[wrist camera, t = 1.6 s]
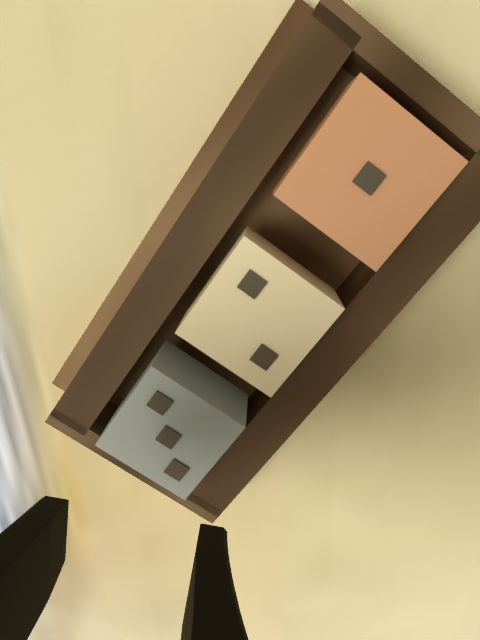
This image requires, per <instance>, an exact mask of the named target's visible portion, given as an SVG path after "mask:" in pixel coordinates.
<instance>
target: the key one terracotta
mask: <svg viewBox="0 0 480 640" xmlns="http://www.w3.org/2000/svg"><path fill="white" fill-rule="evenodd" d="M468 162H469V161H467V160H466V159H465V158H464V157H463V156H461V155H460V154H459V153H458V152H456V151H455V150H454V149H453V148H452V147H450V146H449V145H448V144H447V143H446V142H444V141H443V140H442V139H441V138H440V137H438V136H437V135H436V134H435V133H433V132H432V131H431V130H430V129H429V128H427V127H426V126H425V125H424V124H423V123H421V122H420V121H419V120H418V119H417V118H415V117H414V116H413V115H412V114H410V113H409V112H408V111H407V110H406V109H404V108H403V107H402V106H401V105H400V104H398V103H397V102H396V101H395V100H394V99H392V98H391V97H390V96H389V95H387V94H386V93H385V92H384V91H383V90H381V89H380V88H379V87H378V86H377V85H375V84H374V83H373V82H372V81H371V80H369V79H368V78H367V77H366V76H365V75H363V74H362V73H361V72H360V73H359V74H358V75H357V76H356V77H355V78H354V79H353V80H352V81H351V82H350V83H349V84H348V85H347V86H346V87H345V89H344V90H343V92H342V93H341V94H340V96H339V97H338V99H337V100H336V101H335V103H334V104H333V106H332V107H331V108H330V110H329V111H328V113H327V114H326V115H325V117H324V118H323V120H322V121H321V123H320V124H319V125H318V127H317V128H316V130H315V131H314V132H313V134H312V135H311V137H310V138H309V139H308V141H307V142H306V144H305V145H304V146H303V148H302V149H301V151H300V152H299V154H298V155H297V156H296V158H295V159H294V161H293V162H292V163H291V165H290V166H289V168H288V169H287V170H286V172H285V173H284V175H283V176H282V177H281V179H280V180H279V182H278V183H277V185H276V186H275V187H274V189H273V190H272V192H273V195H274V196H275V197H277V198H278V199H279V200H281V201H282V202H283V203H285V204H286V205H287V206H289V207H290V208H291V209H293V210H294V211H295V212H297V213H298V214H299V215H301V216H302V217H303V218H305V219H306V220H307V221H309V222H310V223H311V224H313V225H314V226H315V227H317V228H318V229H319V230H321V231H322V232H323V233H325V234H326V235H327V236H329V237H330V238H331V239H333V240H334V241H335V242H337V243H338V244H339V245H341V246H342V247H343V248H345V249H346V250H347V251H349V252H350V253H351V254H353V255H354V256H355V257H357V258H358V259H359V260H361V261H362V262H363V263H365V264H366V265H367V266H369V267H370V268H371V269H373V270H374V271H375V272H377V270H378V269H379V268H380V267H381V266H382V264H383V263H384V262H385V261H386V260H387V259H388V257H389V256H390V255H391V254H392V253H393V251H394V250H395V249H396V248H397V247H398V245H399V244H400V243H401V242H402V241H403V239H404V238H405V237H406V236H407V235H408V233H409V232H410V231H411V230H412V229H413V228H414V226H415V225H416V224H417V223H418V222H419V220H420V219H421V218H422V217H423V216H424V214H425V213H426V212H427V211H428V210H429V208H430V207H431V206H432V205H433V204H434V203H435V201H436V200H437V199H438V198H439V197H440V195H441V194H442V193H443V192H444V191H445V189H446V188H447V187H448V186H449V185H450V183H451V182H452V181H453V180H454V179H455V177H456V176H457V175H458V174H459V173H460V172H461V170H462V169H463V168H464V167H465V166H466V164H467V163H468Z"/></svg>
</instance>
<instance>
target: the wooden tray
mask: <svg viewBox="0 0 480 640" xmlns="http://www.w3.org/2000/svg"><path fill="white" fill-rule="evenodd" d="M360 72H361V73H362V74H363V75H365V76H366V77H367V78H368V79H369V80H371V81H372V82H373V83H374V84H375V85H377V86H378V87H379V88H380V89H381V90H383V91H384V92H385V93H386V94H387V95H389V96H390V97H391V98H392V99H394V100H395V101H396V102H397V103H398V104H400V105H401V106H402V107H403V108H404V109H406V110H407V111H408V112H409V113H410V114H412V115H413V116H414V117H415V118H417V119H418V120H419V121H420V122H421V123H423V124H424V125H425V126H426V127H427V128H429V129H430V130H431V131H432V132H433V133H435V134H436V135H437V136H438V137H440V138H441V139H442V140H443V141H444V142H446V143H447V144H448V145H449V146H450V147H452V148H453V149H454V150H455V151H456V152H458V153H459V154H460V155H461V156H463V157H464V158H465V159H466V160H467V161H469V162H468V163H467V164H466V166H465V167H464V168H463V169H462V170H461V172H460V173H459V174H458V175H457V176H456V177H455V179H454V180H453V181H452V182H451V183H450V185H449V186H448V187H447V188H446V189H445V191H444V192H443V193H442V194H441V195H440V197H439V198H438V199H437V200H436V201H435V203H434V204H433V205H432V206H431V207H430V208H429V210H428V211H427V212H426V213H425V214H424V216H423V217H422V218H421V219H420V220H419V222H418V223H417V224H416V225H415V226H414V228H413V229H412V230H411V231H410V232H409V233H408V235H407V236H406V237H405V238H404V239H403V241H402V242H401V243H400V244H399V245H398V247H397V248H396V249H395V250H394V251H393V253H392V254H391V255H390V256H389V257H388V259H387V260H386V261H385V262H384V263H383V264H382V266H381V267H380V268H379V269H378V270H377V272H375V271H374V270H373V269H371V268H370V267H369V266H367V265H366V264H365V263H363V262H362V261H361V260H359V259H358V258H357V257H355V256H354V255H353V254H351V253H350V252H349V251H347V250H346V249H345V248H343V247H342V246H341V245H339V244H338V243H337V242H335V241H334V240H333V239H331V238H330V237H329V236H327V235H326V234H325V233H323V232H322V231H321V230H319V229H318V228H317V227H315V226H314V225H313V224H311V223H310V222H309V221H307V220H306V219H305V218H303V217H302V216H301V215H299V214H298V213H297V212H295V211H294V210H293V209H291V208H290V207H289V206H287V205H286V204H285V203H283V202H282V201H281V200H279V199H278V198H277V197H275V196H274V195H273V192H272V190H273V189H274V187H275V186H276V185H277V183H278V182H279V180H280V179H281V177H282V176H283V175H284V173H285V172H286V170H287V169H288V168H289V166H290V165H291V163H292V162H293V161H294V159H295V158H296V156H297V155H298V154H299V152H300V151H301V149H302V148H303V146H304V145H305V144H306V142H307V141H308V139H309V138H310V137H311V135H312V134H313V132H314V131H315V130H316V128H317V127H318V125H319V124H320V123H321V121H322V120H323V118H324V117H325V115H326V114H327V113H328V111H329V110H330V108H331V107H332V106H333V104H334V103H335V101H336V100H337V99H338V97H339V96H340V94H341V93H342V92H343V90H344V89H345V87H346V86H347V85H348V84H349V83H350V82H351V81H352V80H353V79H354V78H355V77H356V76H357V75H358V74H359V73H360ZM479 222H480V117H479V116H478V115H477V114H476V113H475V112H473V111H472V110H471V109H470V108H469V107H468V106H466V105H465V104H464V103H463V102H462V101H460V100H459V99H458V98H457V97H456V96H455V95H453V94H452V93H451V92H450V91H449V90H448V89H446V88H445V87H444V86H443V85H442V84H440V83H439V82H438V81H437V80H436V79H435V78H433V77H432V76H431V75H430V74H429V73H427V72H426V71H425V70H424V69H423V68H422V67H420V66H419V65H418V64H417V63H416V62H415V61H413V60H412V59H411V58H410V57H409V56H407V55H406V54H405V53H404V52H403V51H402V50H400V49H399V48H398V47H397V46H396V45H395V44H393V43H392V42H391V41H390V40H389V39H387V38H386V37H385V36H384V35H383V34H382V33H380V32H379V31H378V30H377V29H376V28H375V27H373V26H372V25H371V24H370V23H369V22H367V21H366V20H365V19H364V18H363V17H362V16H360V15H359V14H358V13H357V12H356V11H354V10H353V9H352V8H351V7H350V6H349V5H347V4H346V3H345V2H344V1H343V0H320V1H319V3H318V4H317V6H316V8H315V9H314V10H313V9H312V8H311V7H310V6H309V5H308V4H306V3H305V2H304V1H303V0H295V2H294V3H293V5H292V7H291V8H290V10H289V11H288V13H287V14H286V16H285V18H284V19H283V21H282V22H281V24H280V25H279V27H278V29H277V30H276V32H275V33H274V35H273V36H272V38H271V40H270V41H269V43H268V44H267V46H266V47H265V49H264V51H263V52H262V54H261V55H260V57H259V58H258V60H257V62H256V63H255V65H254V66H253V68H252V69H251V71H250V73H249V74H248V76H247V77H246V79H245V80H244V82H243V84H242V85H241V87H240V88H239V90H238V91H237V93H236V95H235V96H234V98H233V99H232V101H231V102H230V104H229V106H228V107H227V109H226V110H225V112H224V113H223V115H222V117H221V118H220V120H219V121H218V123H217V124H216V126H215V128H214V129H213V131H212V132H211V134H210V135H209V137H208V139H207V140H206V142H205V143H204V145H203V146H202V148H201V150H200V151H199V153H198V154H197V156H196V157H195V159H194V161H193V162H192V164H191V165H190V167H189V168H188V170H187V172H186V173H185V175H184V176H183V178H182V179H181V181H180V183H179V184H178V186H177V187H176V189H175V190H174V192H173V194H172V195H171V197H170V198H169V200H168V201H167V203H166V205H165V206H164V208H163V209H162V211H161V212H160V214H159V216H158V217H157V219H156V220H155V222H154V223H153V225H152V227H151V228H150V230H149V231H148V233H147V234H146V236H145V238H144V239H143V241H142V242H141V244H140V246H139V247H138V249H137V250H136V252H135V253H134V255H133V257H132V258H131V260H130V261H129V263H128V264H127V266H126V268H125V269H124V271H123V272H122V274H121V275H120V277H119V279H118V280H117V282H116V283H115V285H114V286H113V288H112V290H111V291H110V293H109V294H108V296H107V297H106V299H105V301H104V302H103V304H102V305H101V307H100V308H99V310H98V312H97V313H96V315H95V316H94V318H93V319H92V321H91V323H90V324H89V326H88V327H87V329H86V330H85V332H84V334H83V335H82V337H81V338H80V340H79V341H78V343H77V345H76V346H75V348H74V349H73V351H72V352H71V354H70V356H69V357H68V359H67V360H66V362H65V363H64V365H63V367H62V368H61V370H60V371H59V373H58V374H57V376H56V378H55V379H54V381H53V382H52V384H54V385H56V386H57V387H59V388H61V389H62V390H64V391H65V392H64V394H63V395H62V397H61V398H60V400H59V402H58V403H57V405H56V406H55V408H54V409H53V411H52V412H51V414H50V415H49V417H48V418H47V420H46V421H45V422H46V423H47V424H49V425H51V426H52V427H54V428H56V429H57V430H59V431H61V432H62V433H64V434H66V435H67V436H69V437H71V438H72V439H74V440H76V441H77V442H79V443H80V444H82V445H84V446H85V447H87V448H89V449H90V450H92V451H94V452H95V453H97V454H99V455H100V456H102V457H104V458H105V459H107V460H109V461H110V462H112V463H113V464H115V465H117V466H118V467H120V468H122V469H123V470H125V471H127V472H128V473H130V474H132V475H133V476H135V477H137V478H138V479H140V480H141V481H143V482H145V483H146V484H148V485H150V486H151V487H153V488H155V489H156V490H158V491H160V492H161V493H163V494H165V495H166V496H168V497H170V498H171V499H173V500H174V501H176V502H178V503H179V504H181V505H183V506H184V507H186V508H188V509H189V510H191V511H193V512H194V513H196V514H198V515H199V516H201V517H203V518H204V519H206V520H207V521H209V522H211V523H213V522H214V521H215V520H216V519H217V517H218V516H219V515H220V514H221V513H222V512H223V511H224V510H225V508H226V507H227V506H228V505H229V504H230V503H231V502H232V501H233V499H234V498H235V497H236V496H237V495H238V494H239V493H240V492H241V490H242V489H243V488H244V487H245V486H246V485H247V484H248V482H249V481H250V480H251V479H252V478H253V477H254V476H255V475H256V473H257V472H258V471H259V470H260V469H261V468H262V467H263V466H264V464H265V463H266V462H267V461H268V460H269V459H270V458H271V457H272V455H273V454H274V453H275V452H276V451H277V450H278V449H279V447H280V446H281V445H282V444H283V443H284V442H285V441H286V440H287V438H288V437H289V436H290V435H291V434H292V433H293V432H294V431H295V429H296V428H297V427H298V426H299V425H300V424H301V423H302V422H303V420H304V419H305V418H306V417H307V416H308V415H309V414H310V413H311V411H312V410H313V409H314V408H315V407H316V406H317V405H318V403H319V402H320V401H321V400H322V399H323V398H324V397H325V396H326V394H327V393H328V392H329V391H330V390H331V389H332V388H333V387H334V385H335V384H336V383H337V382H338V381H339V380H340V379H341V378H342V376H343V375H344V374H345V373H346V372H347V371H348V370H349V369H350V367H351V366H352V365H353V364H354V363H355V362H356V361H357V359H358V358H359V357H360V356H361V355H362V354H363V353H364V352H365V350H366V349H367V348H368V347H369V346H370V345H371V344H372V343H373V341H374V340H375V339H376V338H377V337H378V336H379V335H380V334H381V332H382V331H383V330H384V329H385V328H386V327H387V326H388V324H389V323H390V322H391V321H392V320H393V319H394V318H395V317H396V315H397V314H398V313H399V312H400V311H401V310H402V309H403V308H404V306H405V305H406V304H407V303H408V302H409V301H410V300H411V299H412V297H413V296H414V295H415V294H416V293H417V292H418V291H419V290H420V288H421V287H422V286H423V285H424V284H425V283H426V282H427V280H428V279H429V278H430V277H431V276H432V275H433V274H434V273H435V271H436V270H437V269H438V268H439V267H440V266H441V265H442V264H443V262H444V261H445V260H446V259H447V258H448V257H449V256H450V255H451V253H452V252H453V251H454V250H455V249H456V248H457V247H458V245H459V244H460V243H461V242H462V241H463V240H464V239H465V238H466V236H467V235H468V234H469V233H470V232H471V231H472V230H473V229H474V227H475V226H476V225H477V224H478V223H479ZM247 226H248V227H250V228H251V229H252V230H254V231H255V232H257V233H258V234H259V235H261V236H262V237H263V238H265V239H266V240H267V241H269V242H270V243H272V244H273V245H274V246H276V247H277V248H278V249H280V250H281V251H283V252H284V253H285V254H287V255H288V256H289V257H291V258H292V259H294V260H295V261H296V262H298V263H299V264H300V265H302V266H303V267H304V268H306V269H307V270H309V271H310V272H311V273H313V274H314V275H315V276H317V277H318V278H320V279H321V280H322V281H324V282H325V283H326V284H328V285H329V286H330V287H332V288H333V289H334V290H335V292H336V293H337V295H338V297H339V299H340V301H341V302H342V304H343V306H344V308H345V310H344V311H343V312H342V313H341V315H340V316H339V317H338V318H337V319H336V320H335V322H334V323H333V324H332V325H331V326H330V328H329V329H328V330H327V331H326V332H325V334H324V335H323V336H322V337H321V338H320V340H319V341H318V342H317V343H316V344H315V346H314V347H313V348H312V349H311V350H310V351H309V353H308V354H307V355H306V356H305V357H304V359H303V360H302V361H301V362H300V363H299V365H298V366H297V367H296V368H295V369H294V371H293V372H292V373H291V374H290V375H289V377H288V378H287V379H286V380H285V381H284V382H283V384H282V385H281V386H280V387H279V388H278V390H277V391H276V392H275V393H274V394H273V396H272V397H269V396H268V395H266V394H265V393H263V392H262V391H260V390H259V389H257V388H256V387H254V386H253V385H251V384H250V383H248V382H247V381H245V380H244V379H242V378H241V377H239V376H238V375H236V374H235V373H233V372H232V371H230V370H229V369H227V368H226V367H224V366H223V365H221V364H220V363H218V362H217V361H215V360H214V359H212V358H211V357H209V356H208V355H206V354H205V353H203V352H202V351H200V350H199V349H197V348H196V347H194V346H193V345H191V344H190V343H188V342H187V341H185V340H184V339H183V338H181V337H180V336H178V335H177V334H175V332H176V330H177V328H178V326H179V324H180V323H181V321H182V319H183V317H184V315H185V313H186V312H187V310H188V309H189V307H190V306H191V304H192V303H193V302H194V300H195V299H196V297H197V296H198V294H199V293H200V292H201V290H202V289H203V287H204V286H205V285H206V283H207V282H208V280H209V279H210V278H211V276H212V275H213V273H214V272H215V271H216V269H217V268H218V266H219V265H220V263H221V262H222V261H223V259H224V258H225V256H226V255H227V254H228V252H229V251H230V249H231V248H232V247H233V245H234V244H235V242H236V241H237V239H238V238H239V237H240V235H241V234H242V232H243V231H244V230H245V228H246V227H247ZM166 340H167V341H169V342H170V343H172V344H173V345H175V346H176V347H178V348H179V349H181V350H182V351H184V352H185V353H187V354H188V355H190V356H191V357H193V358H194V359H196V360H197V361H199V362H200V363H202V364H203V365H205V366H206V367H208V368H209V369H211V370H212V371H214V372H215V373H217V374H218V375H220V376H221V377H223V378H224V379H226V380H227V381H229V382H230V383H232V384H233V385H235V386H236V387H238V388H239V389H241V390H242V391H244V392H245V393H247V394H248V404H247V417H246V428H245V429H244V430H243V431H242V433H241V434H240V435H239V436H238V437H237V438H236V440H235V441H234V442H233V443H232V444H231V446H230V447H229V448H228V449H227V450H226V452H225V453H224V454H223V455H222V456H221V458H220V459H219V460H218V461H217V462H216V464H215V465H214V466H213V467H212V468H211V469H210V471H209V472H208V473H207V474H206V475H205V477H204V478H203V479H202V480H201V481H200V483H199V484H198V485H197V486H196V487H195V489H194V490H193V491H192V492H191V493H190V495H189V496H188V497H187V498H186V499H185V500H184V499H182V498H180V497H179V496H177V495H175V494H174V493H172V492H170V491H169V490H167V489H165V488H164V487H162V486H161V485H159V484H157V483H156V482H154V481H152V480H151V479H149V478H147V477H146V476H144V475H142V474H141V473H139V472H138V471H136V470H134V469H133V468H131V467H129V466H128V465H126V464H124V463H123V462H121V461H120V460H118V459H116V458H115V457H113V456H111V455H110V454H108V453H106V452H105V451H103V450H101V449H100V448H98V447H97V446H95V444H96V443H97V441H98V439H99V438H100V436H101V434H102V433H103V431H104V429H105V428H106V426H107V425H108V423H109V421H110V420H111V418H112V416H113V415H114V413H115V411H116V410H117V409H118V407H119V406H120V404H121V403H122V402H123V400H124V399H125V397H126V396H127V395H128V393H129V392H130V390H131V389H132V387H133V386H134V385H135V383H136V382H137V380H138V379H139V378H140V376H141V375H142V373H143V372H144V371H145V369H146V368H147V366H148V365H149V364H150V362H151V361H152V359H153V358H154V356H155V355H156V354H157V352H158V351H159V349H160V348H161V347H162V345H163V344H164V342H165V341H166Z"/></svg>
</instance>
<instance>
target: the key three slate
mask: <svg viewBox="0 0 480 640" xmlns="http://www.w3.org/2000/svg"><path fill="white" fill-rule="evenodd" d="M247 404H248V394H247V393H245V392H244V391H242V390H241V389H239V388H238V387H236V386H235V385H233V384H232V383H230V382H229V381H227V380H226V379H224V378H223V377H221V376H220V375H218V374H217V373H215V372H214V371H212V370H211V369H209V368H208V367H206V366H205V365H203V364H202V363H200V362H199V361H197V360H196V359H194V358H193V357H191V356H190V355H188V354H187V353H185V352H184V351H182V350H181V349H179V348H178V347H176V346H175V345H173V344H172V343H170V342H169V341H167V340H166V341H165V342H164V344H163V345H162V347H161V348H160V349H159V351H158V352H157V354H156V355H155V356H154V358H153V359H152V361H151V362H150V364H149V365H148V366H147V368H146V369H145V371H144V372H143V373H142V375H141V376H140V378H139V379H138V380H137V382H136V383H135V385H134V386H133V387H132V389H131V390H130V392H129V393H128V395H127V396H126V397H125V399H124V400H123V402H122V403H121V404H120V406H119V407H118V409H117V410H116V411H115V413H114V415H113V416H112V418H111V420H110V421H109V423H108V425H107V426H106V428H105V429H104V431H103V433H102V434H101V436H100V438H99V439H98V441H97V443H96V444H95V446H97V447H98V448H100V449H101V450H103V451H105V452H106V453H108V454H110V455H111V456H113V457H115V458H116V459H118V460H120V461H121V462H123V463H124V464H126V465H128V466H129V467H131V468H133V469H134V470H136V471H138V472H139V473H141V474H142V475H144V476H146V477H147V478H149V479H151V480H152V481H154V482H156V483H157V484H159V485H161V486H162V487H164V488H165V489H167V490H169V491H170V492H172V493H174V494H175V495H177V496H179V497H180V498H182V499H184V500H185V499H186V498H187V497H188V496H189V495H190V493H191V492H192V491H193V490H194V489H195V487H196V486H197V485H198V484H199V483H200V481H201V480H202V479H203V478H204V477H205V475H206V474H207V473H208V472H209V471H210V469H211V468H212V467H213V466H214V465H215V464H216V462H217V461H218V460H219V459H220V458H221V456H222V455H223V454H224V453H225V452H226V450H227V449H228V448H229V447H230V446H231V444H232V443H233V442H234V441H235V440H236V438H237V437H238V436H239V435H240V434H241V433H242V431H243V430H244V429H245V428H246V417H247Z"/></svg>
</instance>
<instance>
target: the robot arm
mask: <svg viewBox="0 0 480 640" xmlns="http://www.w3.org/2000/svg"><path fill="white" fill-rule="evenodd" d="M68 503H69V500H66V499H60V498H55V497H49V496H45V497H43V498H42V499H40V500H39V501H38V502H37V503H36V504H35V505H33V506H32V507H31V508H30V509H29V510H28V511H26V512H25V513H24V514H23V515H22V516H21V517H19V518H18V519H17V520H16V521H15V522H14V523H12V524H11V525H10V526H9V527H7V528H6V529H5V530H4V531H3V532H1V533H0V640H27V639H28V637H29V635H30V633H31V631H32V630H33V628H34V626H35V624H36V622H37V620H38V619H39V617H40V615H41V613H42V611H43V609H44V607H45V605H46V604H47V602H48V600H49V597H50V595H51V593H52V590H53V588H54V586H55V583H56V581H57V578H58V576H59V574H60V571H61V569H62V566H63V564H64V561H65V553H66V537H67V520H68ZM181 640H248V637H247V634H246V630H245V627H244V624H243V620H242V616H241V613H240V609H239V605H238V601H237V596H236V592H235V588H234V584H233V579H232V573H231V568H230V562H229V555H228V545H227V531H226V530H225V529H224V528H223V527H217V526H212V525H206V524H201V525H200V530H199V536H198V541H197V547H196V552H195V558H194V563H193V569H192V574H191V580H190V586H189V591H188V597H187V602H186V608H185V613H184V619H183V625H182V635H181Z"/></svg>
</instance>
